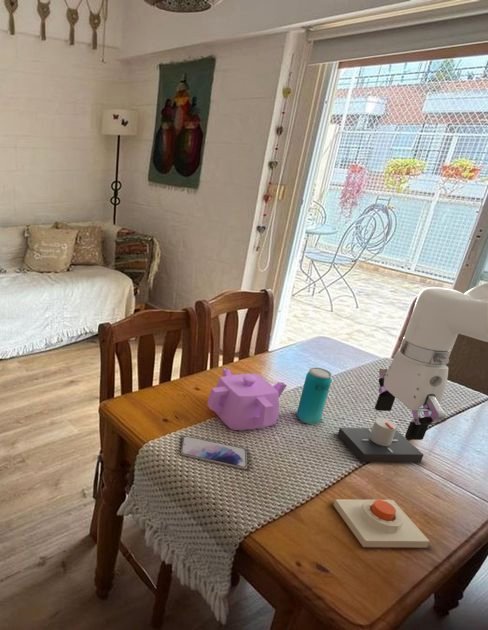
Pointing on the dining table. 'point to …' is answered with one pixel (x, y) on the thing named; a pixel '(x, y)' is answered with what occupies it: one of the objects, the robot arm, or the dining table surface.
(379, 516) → the button
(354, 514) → the block
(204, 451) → the smartphone
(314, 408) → the beverage can
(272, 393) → the teakettle
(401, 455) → the panel
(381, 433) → the timer knob
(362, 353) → the dining table surface
